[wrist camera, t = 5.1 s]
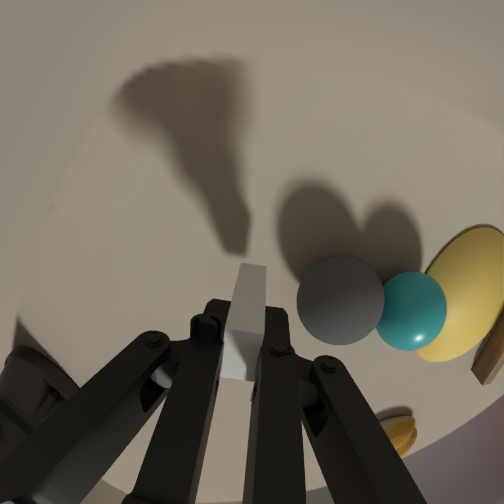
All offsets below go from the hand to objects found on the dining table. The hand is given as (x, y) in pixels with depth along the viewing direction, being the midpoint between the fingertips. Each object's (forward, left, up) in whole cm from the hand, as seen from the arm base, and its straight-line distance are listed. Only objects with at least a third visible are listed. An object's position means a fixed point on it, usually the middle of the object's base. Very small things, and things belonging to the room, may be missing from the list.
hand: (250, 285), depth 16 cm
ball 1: (+6, 0, 0) cm, 6 cm away
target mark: (+20, 0, -2) cm, 20 cm away
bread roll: (+20, -20, -3) cm, 29 cm away
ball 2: (+11, 0, 0) cm, 11 cm away
